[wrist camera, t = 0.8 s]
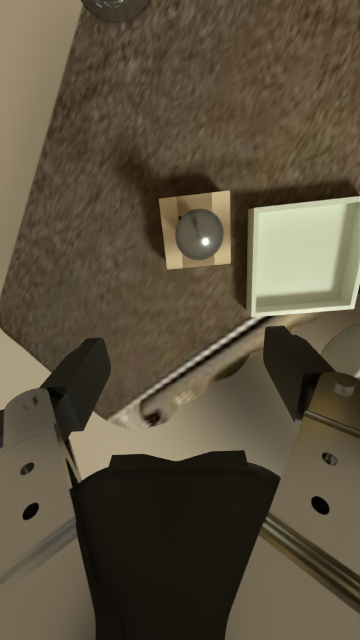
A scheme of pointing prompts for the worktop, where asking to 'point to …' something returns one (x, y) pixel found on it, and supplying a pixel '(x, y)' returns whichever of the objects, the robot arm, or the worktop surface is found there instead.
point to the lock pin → (199, 234)
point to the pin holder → (178, 208)
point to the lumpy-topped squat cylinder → (344, 351)
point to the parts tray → (303, 257)
